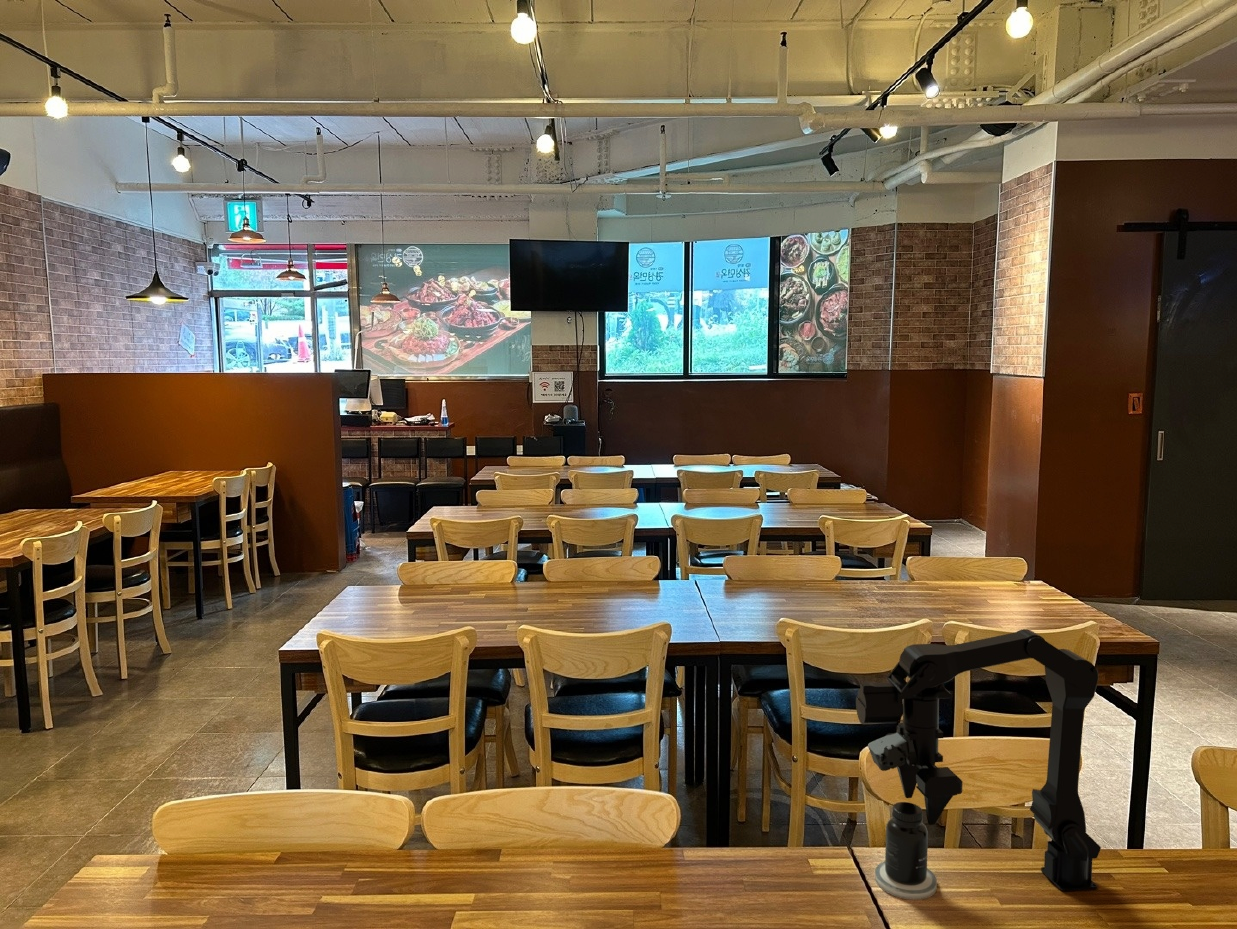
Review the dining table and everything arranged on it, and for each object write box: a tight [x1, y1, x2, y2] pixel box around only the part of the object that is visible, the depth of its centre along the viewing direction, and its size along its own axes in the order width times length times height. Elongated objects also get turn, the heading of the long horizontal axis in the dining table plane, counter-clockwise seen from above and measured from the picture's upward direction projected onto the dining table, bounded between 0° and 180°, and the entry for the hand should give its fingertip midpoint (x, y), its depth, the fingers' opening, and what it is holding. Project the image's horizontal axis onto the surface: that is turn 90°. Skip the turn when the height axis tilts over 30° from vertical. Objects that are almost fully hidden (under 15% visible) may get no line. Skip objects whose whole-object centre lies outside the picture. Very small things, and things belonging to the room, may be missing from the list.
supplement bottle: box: [884, 801, 929, 885], centre depth 146 cm, size 7×7×12 cm
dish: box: [874, 860, 938, 901], centre depth 147 cm, size 10×10×1 cm
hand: (919, 810), depth 146 cm, fingers open, 9 cm apart
